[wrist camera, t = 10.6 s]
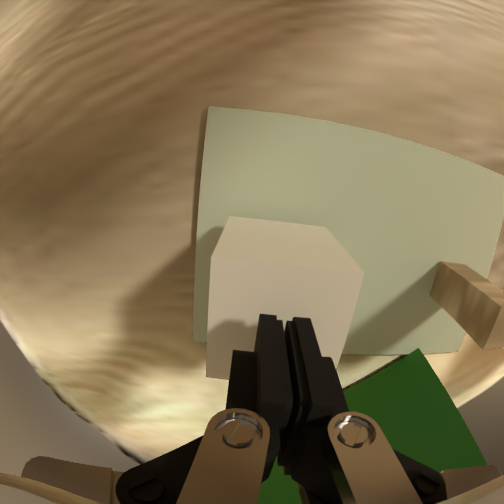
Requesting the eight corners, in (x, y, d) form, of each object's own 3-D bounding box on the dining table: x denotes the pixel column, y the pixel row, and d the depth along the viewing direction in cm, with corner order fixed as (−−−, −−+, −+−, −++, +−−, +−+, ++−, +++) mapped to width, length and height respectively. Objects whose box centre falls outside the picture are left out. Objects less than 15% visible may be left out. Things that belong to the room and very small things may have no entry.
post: (439, 260, 18) (501, 307, 11) (464, 264, 18) (525, 307, 11) (429, 294, 18) (482, 349, 12) (454, 296, 18) (507, 346, 12)
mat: (209, 107, 15) (208, 106, 15) (506, 178, 16) (510, 178, 15) (193, 337, 20) (192, 340, 20) (455, 349, 20) (457, 351, 20)
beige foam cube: (229, 216, 16) (211, 257, 10) (325, 226, 16) (364, 273, 10) (222, 302, 18) (205, 377, 11) (309, 310, 18) (330, 385, 11)
